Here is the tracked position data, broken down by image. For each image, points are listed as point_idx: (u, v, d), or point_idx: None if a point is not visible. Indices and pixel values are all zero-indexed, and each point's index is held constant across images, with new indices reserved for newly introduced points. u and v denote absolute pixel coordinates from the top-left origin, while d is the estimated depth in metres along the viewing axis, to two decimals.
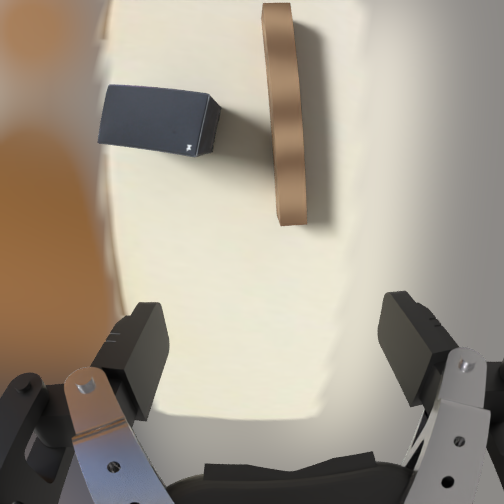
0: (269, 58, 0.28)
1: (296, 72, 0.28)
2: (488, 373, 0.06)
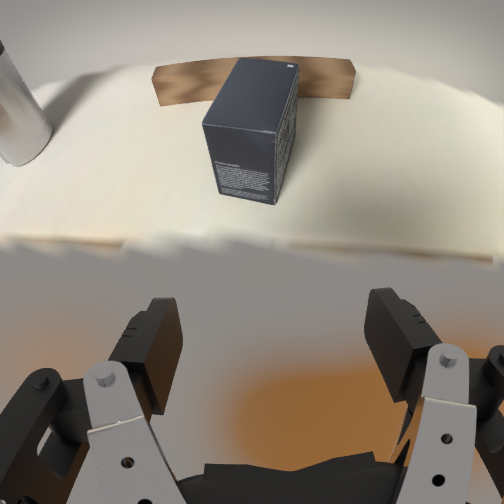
0: (206, 70, 0.33)
1: (221, 59, 0.34)
2: (471, 369, 0.06)
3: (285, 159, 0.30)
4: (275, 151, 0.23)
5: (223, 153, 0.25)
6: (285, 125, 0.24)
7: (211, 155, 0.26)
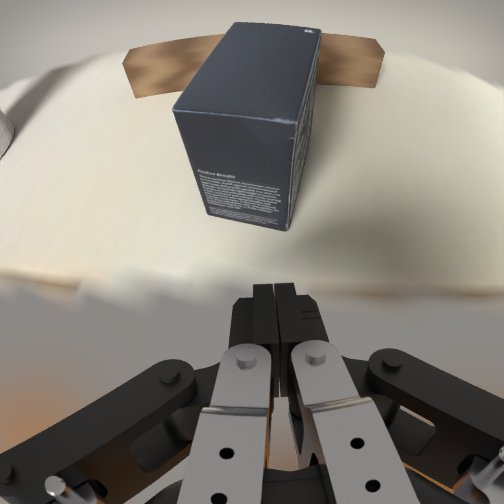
0: (192, 49, 0.24)
1: (212, 35, 0.25)
2: (351, 372, 0.07)
3: (301, 165, 0.21)
4: (293, 154, 0.14)
5: (209, 157, 0.16)
6: (306, 113, 0.15)
7: (191, 161, 0.17)
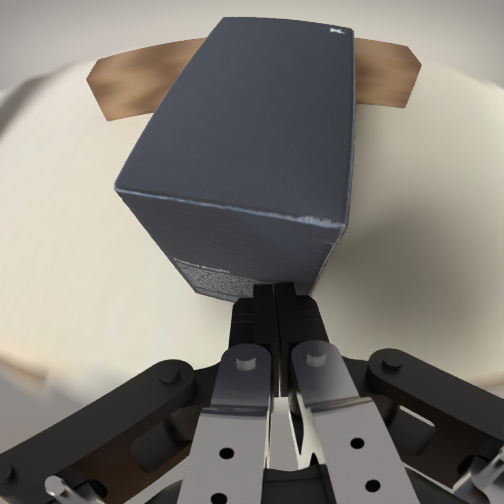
0: (173, 58, 0.18)
1: (201, 39, 0.19)
2: (351, 372, 0.07)
3: None
4: (326, 259, 0.09)
5: (186, 249, 0.10)
6: None
7: (162, 248, 0.11)
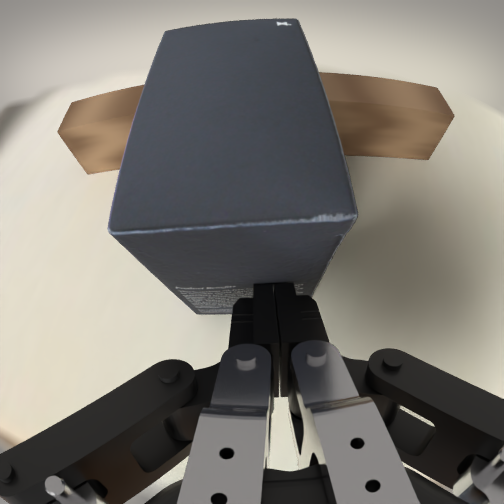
0: None
1: None
2: (351, 372, 0.07)
3: None
4: (335, 250, 0.09)
5: (191, 276, 0.10)
6: None
7: (163, 280, 0.10)
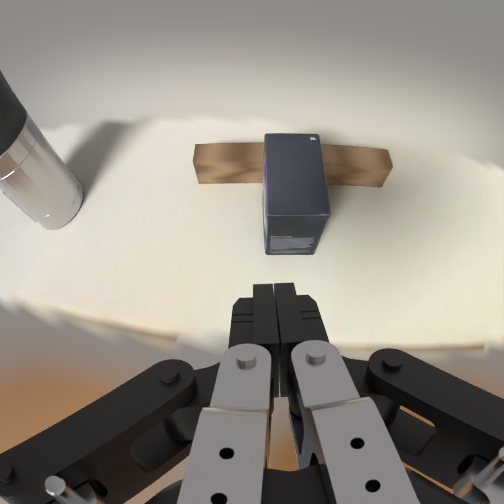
0: (250, 159, 0.37)
1: None
2: (351, 372, 0.07)
3: None
4: None
5: (280, 230, 0.31)
6: None
7: (268, 233, 0.32)
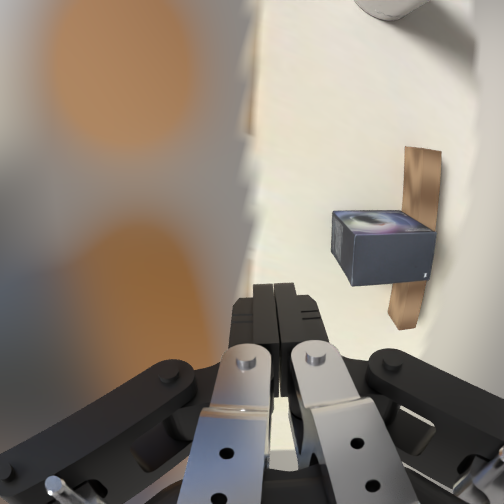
0: (420, 206, 0.34)
1: (435, 219, 0.35)
2: (351, 372, 0.07)
3: None
4: (347, 277, 0.34)
5: (345, 237, 0.34)
6: None
7: (345, 226, 0.34)
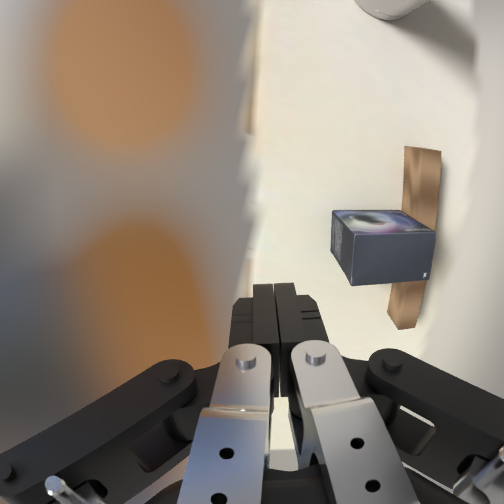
0: (419, 206, 0.34)
1: (435, 219, 0.35)
2: (351, 372, 0.07)
3: None
4: (346, 276, 0.34)
5: (345, 237, 0.34)
6: None
7: (344, 225, 0.34)
